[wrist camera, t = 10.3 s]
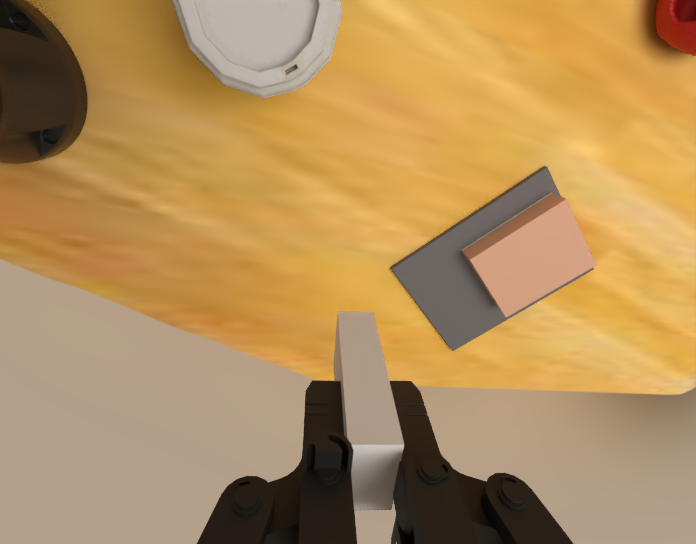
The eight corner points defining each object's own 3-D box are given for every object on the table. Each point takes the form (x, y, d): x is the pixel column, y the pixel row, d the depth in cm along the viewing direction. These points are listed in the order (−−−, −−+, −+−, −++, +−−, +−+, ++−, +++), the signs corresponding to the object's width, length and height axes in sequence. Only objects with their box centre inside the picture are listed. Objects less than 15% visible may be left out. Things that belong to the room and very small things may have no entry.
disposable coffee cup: (196, 2, 35) (118, -52, 21) (298, -66, 33) (284, -170, 20) (261, 113, 39) (230, 127, 26) (354, 59, 38) (373, 43, 24)
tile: (469, 259, 44) (566, 198, 41) (461, 249, 47) (551, 192, 44) (506, 317, 48) (596, 265, 45) (496, 305, 51) (580, 255, 48)
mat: (390, 267, 48) (391, 269, 47) (544, 166, 43) (547, 167, 43) (451, 348, 54) (452, 351, 53) (591, 267, 50) (594, 269, 49)
